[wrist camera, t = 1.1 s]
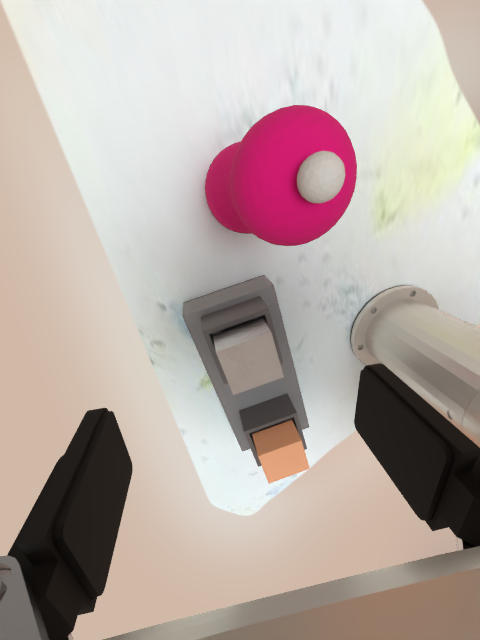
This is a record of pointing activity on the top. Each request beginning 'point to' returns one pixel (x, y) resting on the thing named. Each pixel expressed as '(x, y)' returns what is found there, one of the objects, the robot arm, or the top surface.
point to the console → (241, 409)
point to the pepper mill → (284, 177)
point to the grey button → (248, 356)
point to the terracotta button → (280, 451)
